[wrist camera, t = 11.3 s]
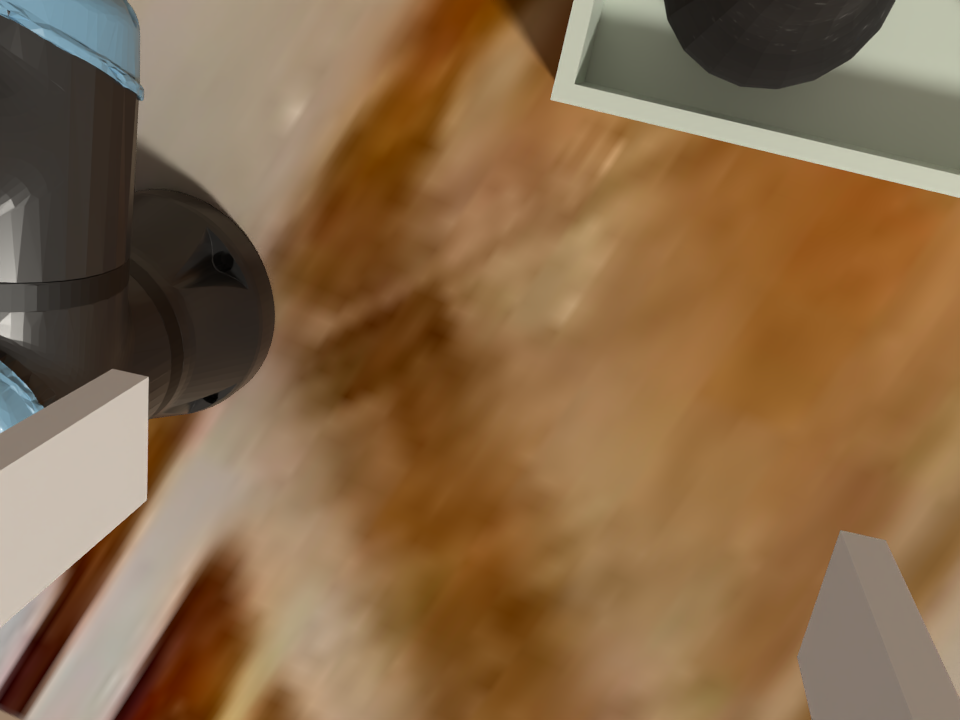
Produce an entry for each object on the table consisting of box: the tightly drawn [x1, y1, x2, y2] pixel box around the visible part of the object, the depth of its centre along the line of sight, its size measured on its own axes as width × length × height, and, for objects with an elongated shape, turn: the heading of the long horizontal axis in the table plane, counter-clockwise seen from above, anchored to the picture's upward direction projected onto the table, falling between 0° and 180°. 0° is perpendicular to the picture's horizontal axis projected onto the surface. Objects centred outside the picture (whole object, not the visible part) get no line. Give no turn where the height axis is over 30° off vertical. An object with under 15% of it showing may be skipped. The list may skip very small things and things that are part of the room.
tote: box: [550, 0, 960, 198], centre depth 43 cm, size 32×16×6 cm, turn 79°
